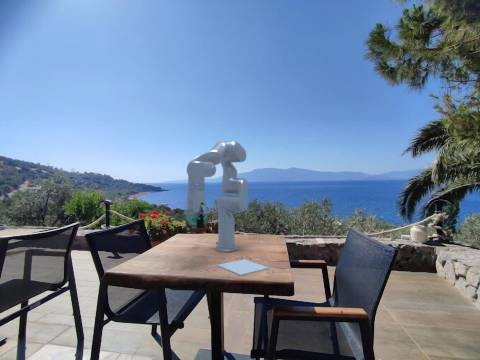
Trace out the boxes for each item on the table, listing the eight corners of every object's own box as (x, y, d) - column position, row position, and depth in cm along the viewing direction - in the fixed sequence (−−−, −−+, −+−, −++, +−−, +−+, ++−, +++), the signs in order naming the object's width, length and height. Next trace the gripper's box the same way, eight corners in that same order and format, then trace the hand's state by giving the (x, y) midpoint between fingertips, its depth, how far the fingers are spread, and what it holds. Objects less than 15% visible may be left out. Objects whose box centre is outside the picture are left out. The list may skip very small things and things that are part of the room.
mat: (216, 266, 130) (217, 264, 130) (243, 260, 139) (243, 259, 139) (241, 276, 115) (241, 274, 115) (269, 268, 125) (269, 267, 125)
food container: (185, 233, 124) (185, 210, 124) (183, 231, 130) (183, 209, 130) (212, 231, 128) (212, 209, 128) (209, 229, 134) (209, 208, 134)
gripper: (180, 187, 134) (181, 225, 134) (198, 188, 120) (199, 230, 120) (194, 187, 139) (194, 224, 138) (213, 188, 125) (213, 228, 125)
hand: (196, 226), depth 129 cm, fingers closed on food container, 5 cm apart
